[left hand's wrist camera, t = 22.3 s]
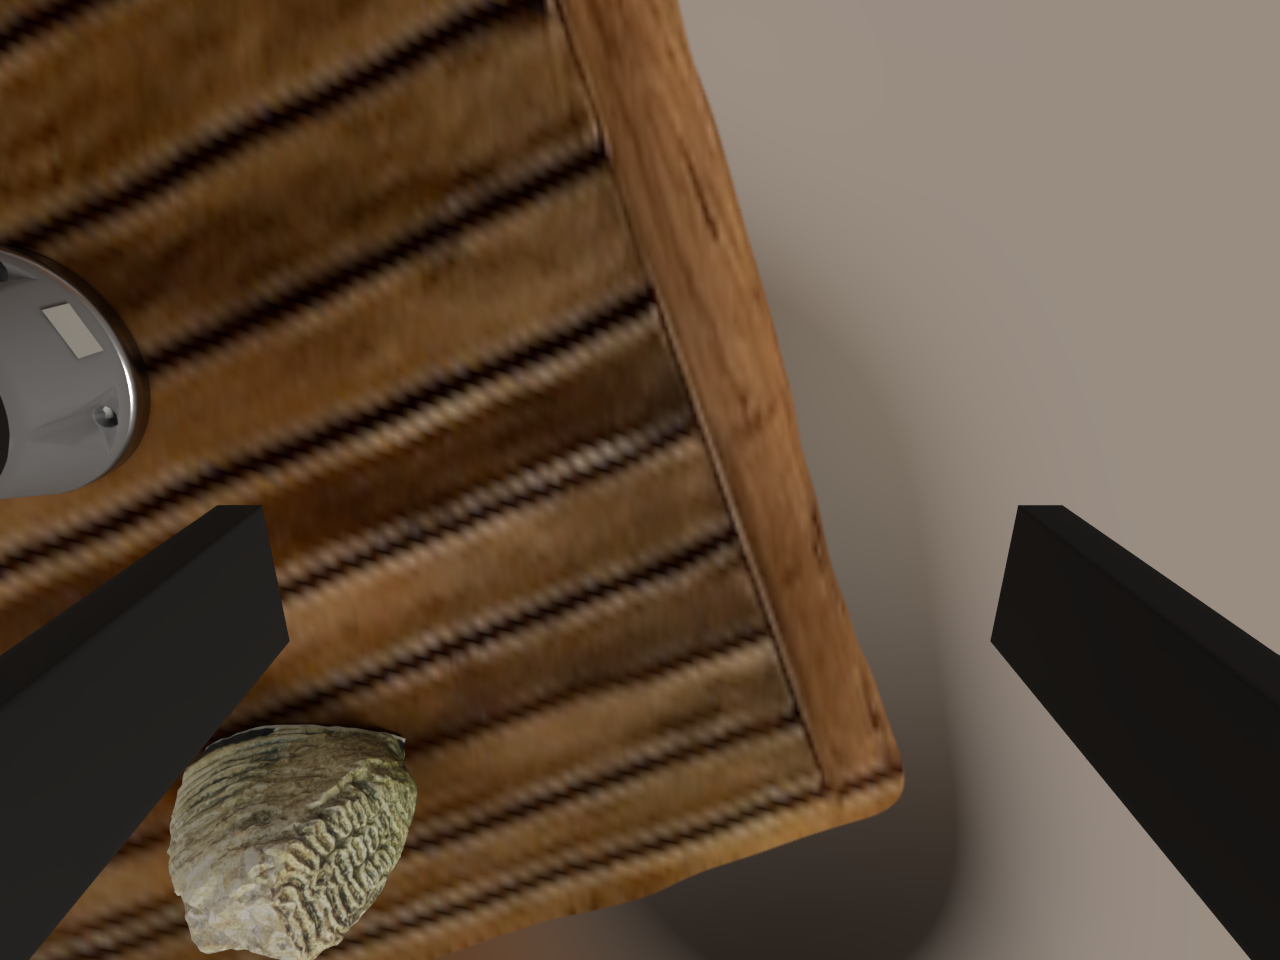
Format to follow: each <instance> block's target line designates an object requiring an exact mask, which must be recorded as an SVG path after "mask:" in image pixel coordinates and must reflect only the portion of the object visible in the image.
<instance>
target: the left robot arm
mask: <svg viewBox="0 0 1280 960" xmlns="http://www.w3.org/2000/svg"><path fill="white" fill-rule="evenodd" d="M149 412H150V388H149V381H148V376H147V372H146V368H145V364H144V362H143V359H142V356H141V353H140V351H139V349H138V346H137V344H136V342H135V340H134V338H133V337H132V335H131V333H130V331H129V330H128V328H127V327H126V325H125V324H124V322H123V321H122V319H121V318H120V317H119V315H118V314H117V313H116V311H115V310H114V309H113V308H112V307H111V305H110V304H109V303H108V302H107V301H106V300H105V299H104V298H103V297H102V296H101V295H100V294H99V293H98V292H97V291H96V290H95V289H94V288H93V287H91V286H90V285H89V284H88V283H86V282H85V281H84V280H83V279H81V278H80V277H79V276H77V275H76V274H74V273H73V272H71V271H70V270H68V269H66V268H65V267H63V266H61V265H60V264H58V263H56V262H54V261H52V260H50V259H48V258H46V257H43V256H41V255H38V254H36V253H33V252H30V251H27V250H23V249H20V248H15V247H10V246H5V245H0V499H6V498H17V497H28V496H39V495H51V494H59V493H64V492H68V491H72V490H75V489H78V488H80V487H83V486H85V485H87V484H89V483H91V482H93V481H95V480H97V479H99V478H101V477H103V476H106V475H107V474H109V473H111V472H112V471H114V470H116V469H117V468H118V467H120V466H121V465H122V464H123V463H124V462H125V461H126V460H127V459H128V458H130V456H131V455H132V454H133V452H134V451H135V450H136V448H137V447H138V445H139V443H140V442H141V440H142V437H143V435H144V433H145V430H146V426H147V423H148V418H149ZM288 642H289V636H288V631H287V626H286V621H285V617H284V612H283V607H282V602H281V597H280V592H279V587H278V582H277V578H276V573H275V568H274V563H273V558H272V553H271V548H270V543H269V538H268V534H267V529H266V524H265V519H264V514H263V509H262V505H217V506H216V507H214V508H213V509H212V510H210V511H209V512H207V513H206V514H204V515H203V516H201V517H200V518H199V519H197V520H196V521H194V522H193V523H191V524H190V525H188V526H187V527H186V528H184V529H183V530H181V531H180V532H178V533H177V534H175V535H174V536H173V537H171V538H170V539H168V540H167V541H165V542H164V543H162V544H161V545H160V546H158V547H157V548H155V549H154V550H152V551H151V552H149V553H148V554H147V555H145V556H144V557H142V558H141V559H139V560H138V561H136V562H135V563H134V564H132V565H131V566H129V567H128V568H126V569H125V570H123V571H122V572H121V573H119V574H118V575H116V576H115V577H113V578H112V579H111V580H109V581H108V582H106V583H105V584H103V585H102V586H100V587H99V588H98V589H96V590H95V591H93V592H92V593H90V594H89V595H87V596H86V597H85V598H83V599H82V600H80V601H79V602H77V603H76V604H74V605H73V606H72V607H70V608H69V609H67V610H66V611H64V612H63V613H61V614H60V615H59V616H57V617H56V618H54V619H53V620H51V621H50V622H48V623H47V624H46V625H44V626H43V627H41V628H40V629H38V630H37V631H35V632H34V633H33V634H31V635H30V636H28V637H27V638H25V639H24V640H22V641H21V642H20V643H18V644H17V645H15V646H14V647H12V648H11V649H9V650H8V651H7V652H5V653H4V654H2V655H1V656H0V960H29V959H30V958H31V957H32V955H33V954H34V953H35V952H36V951H37V949H38V948H39V947H40V946H41V944H42V943H43V942H44V941H45V940H46V938H47V937H48V936H49V935H50V933H51V932H52V931H53V930H54V929H55V927H56V926H57V925H58V924H59V922H60V921H61V920H62V919H63V918H64V916H65V915H66V914H67V913H68V911H69V910H70V909H71V908H72V907H73V905H74V904H75V903H76V902H77V900H78V899H79V898H80V897H81V896H82V894H83V893H84V892H85V891H86V889H87V888H88V887H89V886H90V885H91V883H92V882H93V881H94V880H95V878H96V877H97V876H98V875H99V874H100V872H101V871H102V870H103V869H104V867H105V866H106V865H107V864H108V863H109V861H110V860H111V859H112V858H113V856H114V855H115V854H116V853H117V852H118V850H119V849H120V848H121V847H122V845H123V844H124V843H125V842H126V841H127V839H128V838H129V837H130V836H131V834H132V833H133V832H134V831H135V830H136V828H137V827H138V826H139V825H140V823H141V822H142V821H143V820H144V819H145V817H146V816H147V815H148V814H149V812H150V811H151V810H152V809H153V808H154V806H155V805H156V804H157V803H158V801H159V800H160V799H161V798H162V797H163V795H164V794H165V793H166V792H167V790H168V789H169V788H170V787H171V786H172V784H173V783H174V782H175V781H176V779H177V778H178V777H179V776H180V775H181V773H182V772H183V771H184V770H185V768H186V767H187V766H188V765H189V764H190V762H191V761H192V760H193V759H194V757H195V756H196V755H197V754H198V753H199V751H200V750H201V749H202V748H203V746H204V745H205V744H206V743H207V742H208V740H209V739H210V738H211V737H212V735H213V734H214V733H215V732H216V731H217V729H218V728H219V727H220V726H221V724H222V723H223V722H224V721H225V719H226V718H227V717H228V716H229V715H230V713H231V712H232V711H233V710H234V708H235V707H236V706H237V705H238V704H239V702H240V701H241V700H242V699H243V697H244V696H245V695H246V694H247V693H248V691H249V690H250V689H251V688H252V686H253V685H254V684H255V683H256V682H257V680H258V679H259V678H260V677H261V675H262V674H263V673H264V672H265V671H266V669H267V668H268V667H269V666H270V664H271V663H272V662H273V661H274V660H275V658H276V657H277V656H278V655H279V653H280V652H281V651H282V650H283V649H284V647H285V646H286V645H287V644H288ZM991 642H992V644H993V645H994V646H995V647H996V649H997V650H998V651H999V652H1000V653H1001V655H1002V656H1003V657H1004V658H1005V660H1006V661H1007V662H1008V663H1009V664H1010V666H1011V667H1012V668H1013V669H1014V671H1015V672H1016V673H1017V674H1018V675H1019V677H1020V678H1021V679H1022V680H1023V682H1024V683H1025V684H1026V685H1027V686H1028V688H1029V689H1030V690H1031V691H1032V693H1033V694H1034V695H1035V696H1036V697H1037V699H1038V700H1039V701H1040V702H1041V704H1042V705H1043V706H1044V707H1045V708H1046V710H1047V711H1048V712H1049V713H1050V715H1051V716H1052V717H1053V718H1054V720H1055V721H1056V722H1057V723H1058V724H1059V726H1060V727H1061V728H1062V729H1063V730H1064V732H1065V733H1066V734H1067V735H1068V737H1069V738H1070V739H1071V740H1072V742H1073V743H1074V744H1075V745H1076V746H1077V748H1078V749H1079V750H1080V751H1081V752H1082V754H1083V755H1084V756H1085V757H1086V759H1087V760H1088V761H1089V762H1090V763H1091V765H1092V766H1093V767H1094V768H1095V770H1096V771H1097V772H1098V773H1099V775H1100V776H1101V777H1102V778H1103V779H1104V781H1105V782H1106V783H1107V784H1108V786H1109V787H1110V788H1111V789H1112V790H1113V792H1114V793H1115V794H1116V795H1117V796H1118V798H1119V799H1120V800H1121V801H1122V803H1123V804H1124V805H1125V806H1126V807H1127V809H1128V810H1129V811H1130V812H1131V814H1132V815H1133V816H1134V817H1135V818H1136V820H1137V821H1138V822H1139V823H1140V825H1141V826H1142V827H1143V828H1144V830H1145V831H1146V832H1147V833H1148V834H1149V836H1150V837H1151V838H1152V839H1153V841H1154V842H1155V843H1156V844H1157V845H1158V847H1159V848H1160V849H1161V850H1162V851H1163V853H1164V854H1165V855H1166V856H1167V858H1168V859H1169V860H1170V861H1171V863H1172V864H1173V865H1174V866H1175V867H1176V869H1177V870H1178V871H1179V872H1180V873H1181V875H1182V876H1183V877H1184V878H1185V880H1186V881H1187V882H1188V883H1189V885H1190V886H1191V887H1192V888H1193V889H1194V891H1195V892H1196V893H1197V894H1198V896H1199V897H1200V898H1201V899H1202V900H1203V902H1204V903H1205V904H1206V905H1207V907H1208V908H1209V909H1210V910H1211V911H1212V913H1213V914H1214V915H1215V916H1216V918H1217V919H1218V920H1219V921H1220V922H1221V924H1222V925H1223V926H1224V927H1225V929H1226V930H1227V931H1228V932H1229V933H1230V935H1231V936H1232V937H1233V938H1234V940H1235V941H1236V942H1237V943H1238V944H1239V946H1240V947H1241V948H1242V949H1243V950H1244V952H1245V953H1246V954H1247V955H1248V957H1249V958H1250V959H1251V960H1280V655H1278V654H1276V653H1275V652H1273V651H1272V650H1271V649H1269V648H1268V647H1266V646H1265V645H1263V644H1262V643H1260V642H1259V641H1258V640H1256V639H1255V638H1253V637H1252V636H1250V635H1249V634H1247V633H1246V632H1245V631H1243V630H1242V629H1240V628H1239V627H1237V626H1236V625H1234V624H1233V623H1232V622H1230V621H1229V620H1227V619H1226V618H1224V617H1223V616H1221V615H1220V614H1219V613H1217V612H1216V611H1214V610H1213V609H1211V608H1210V607H1208V606H1207V605H1205V604H1204V603H1203V602H1201V601H1200V600H1198V599H1197V598H1195V597H1194V596H1193V595H1191V594H1190V593H1188V592H1187V591H1185V590H1184V589H1182V588H1181V587H1180V586H1178V585H1177V584H1175V583H1174V582H1172V581H1171V580H1169V579H1168V578H1167V577H1165V576H1164V575H1162V574H1161V573H1159V572H1158V571H1156V570H1155V569H1154V568H1152V567H1151V566H1149V565H1148V564H1146V563H1145V562H1144V561H1142V560H1141V559H1139V558H1138V557H1136V556H1135V555H1133V554H1132V553H1131V552H1129V551H1128V550H1126V549H1125V548H1123V547H1122V546H1120V545H1119V544H1118V543H1116V542H1115V541H1113V540H1112V539H1110V538H1109V537H1107V536H1106V535H1105V534H1103V533H1102V532H1100V531H1099V530H1097V529H1096V528H1094V527H1093V526H1092V525H1090V524H1089V523H1087V522H1086V521H1084V520H1083V519H1081V518H1080V517H1078V516H1077V515H1076V514H1074V513H1073V512H1071V511H1070V510H1068V509H1067V508H1066V507H1064V506H1063V505H1018V509H1017V514H1016V519H1015V524H1014V529H1013V534H1012V538H1011V543H1010V548H1009V553H1008V558H1007V563H1006V568H1005V573H1004V578H1003V582H1002V587H1001V592H1000V597H999V602H998V607H997V612H996V617H995V622H994V626H993V631H992V636H991Z"/></svg>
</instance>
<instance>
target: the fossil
mask: <svg viewBox="0 0 1280 960" xmlns="http://www.w3.org/2000/svg"><path fill="white" fill-rule="evenodd" d="M404 742H405V739H404V738H402V737H399V736H396V735H393V734H390V733H386V732H374V731H369V730H363V729H358V728H346V727H339V726H333V727H325V726H319V725H313V724H312V725H271V726H262V727H256V728H253V729H250V730H247V731H243V732H240V733H236V734H234V735H233V736H231V737H229V738H223V739H220V740H218V741H216V742H215V743H213V744H211V745H210V746H208V747H207V748H206V750H205V752H204V753H203V754H202V755H201V756H200V758H199V759H198V760H196V761H195V762H194V763H192V764H191V765H190V766H188V767H187V768H186V769H185V772H184V774H183V777H182V786H181V787H180V788H179V790H178V793H177V799H176V804H175V808H174V810H173V815H172V816H171V818H172V821H171V823H170V833H171V842H170V847H169V849H168V852H167V853H168V854H169V855H170V860H169V873H170V876H171V877H172V882H173V884H174V890H175V893H176V894H177V895H181V897H182V900H183V902H184V906H185V912H186V915H185V920H186V921H187V923H188V926H189V929H190V933H191V938H192V941H193V942H194V943H195V944H196V945H197V947H198V948H199V950H200V951H202V952H204V953H207V954H209V953H215V952H219V951H223V950H227V949H231V948H232V949H235V950H242V949H246V950H249V951H250V952H253V953H257V954H262V955H265V956H268V957H271V958H276V959H281V960H313V959H315V958H316V957H317V956H318V955H319V954H320V953H321V952H322V951H323V950H325V949H327V948H329V947H331V946H334V945H338V944H339V943H340V942H341V941H342V940H343V937H344V934H345V933H346V932H347V931H348V930H349V929H350V927H351V926H352V925H354V924H355V923H356V922H358V921H359V919H360V918H361V917H362V915H363V914H364V913H365V912H366V911H367V909H368V908H369V907H370V906H371V905H372V904H373V903H374V902H375V900H376V899H377V897H378V896H379V894H380V893H381V891H382V889H383V888H384V886H385V883H386V880H387V876H388V874H389V873H390V872H391V871H392V869H393V868H394V867H395V865H396V863H397V862H398V860H399V858H400V856H401V852H402V850H403V846H404V843H405V841H406V839H407V835H408V832H409V828H410V825H411V822H412V819H413V816H414V811H415V805H416V803H417V793H418V790H417V786H416V782H415V779H414V778H413V777H412V776H411V775H410V773H409V772H408V770H407V769H406V767H405V766H404V764H403V759H404V757H405V754H404V749H403V746H404Z"/></svg>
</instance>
